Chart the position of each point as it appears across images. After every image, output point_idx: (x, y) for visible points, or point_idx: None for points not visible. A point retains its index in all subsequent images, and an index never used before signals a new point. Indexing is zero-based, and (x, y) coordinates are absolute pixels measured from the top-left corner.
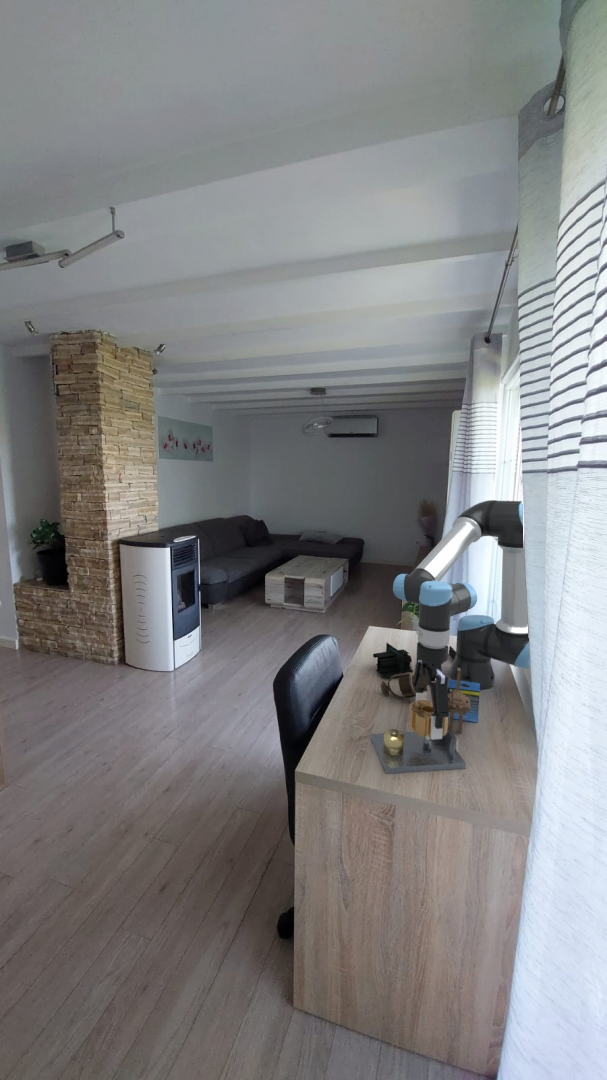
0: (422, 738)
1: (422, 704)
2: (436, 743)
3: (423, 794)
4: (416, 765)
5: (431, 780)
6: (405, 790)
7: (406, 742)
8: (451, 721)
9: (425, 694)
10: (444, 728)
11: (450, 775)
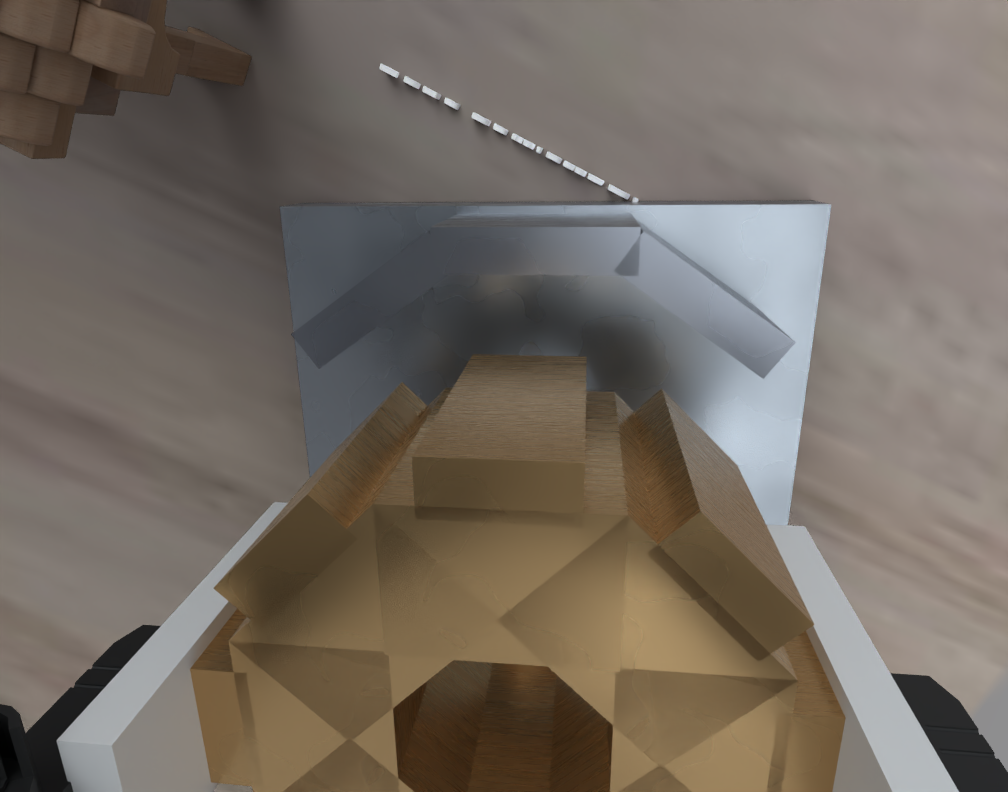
0: None
1: (342, 772)
2: (501, 352)
3: (999, 648)
4: None
5: (879, 540)
6: None
7: None
8: (185, 55)
9: (128, 762)
10: (760, 517)
11: (864, 375)
